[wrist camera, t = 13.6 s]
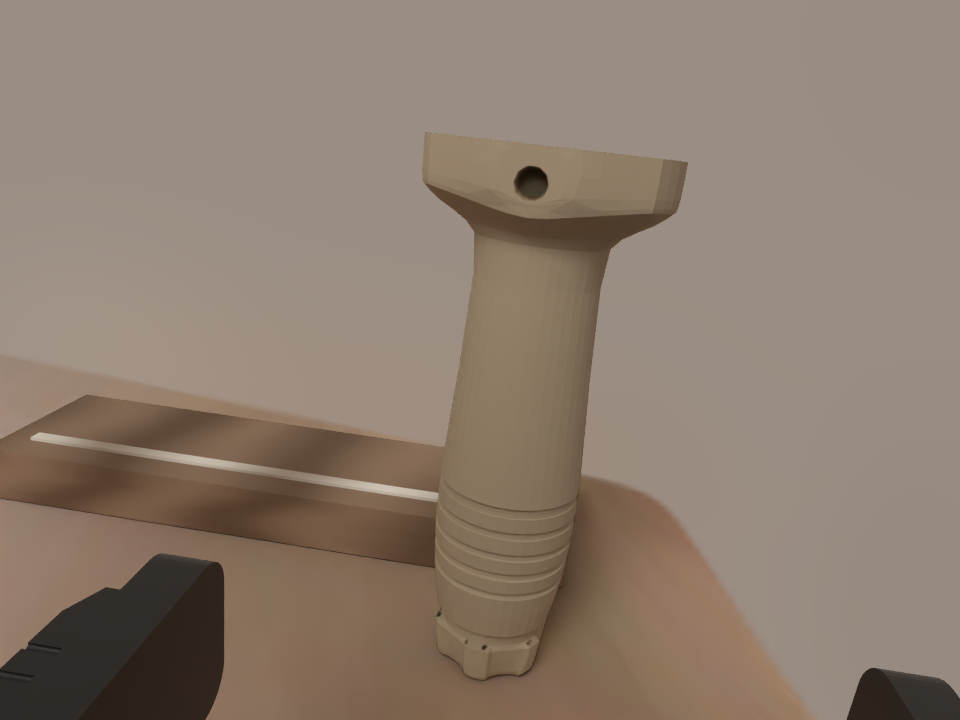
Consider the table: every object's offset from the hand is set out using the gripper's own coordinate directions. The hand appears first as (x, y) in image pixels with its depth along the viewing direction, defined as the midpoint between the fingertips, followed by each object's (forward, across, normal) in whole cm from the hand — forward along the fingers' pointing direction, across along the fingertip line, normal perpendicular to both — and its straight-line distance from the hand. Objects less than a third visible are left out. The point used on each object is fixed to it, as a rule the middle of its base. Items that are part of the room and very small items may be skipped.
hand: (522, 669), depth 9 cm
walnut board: (+18, +9, +9) cm, 22 cm away
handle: (+11, 0, +9) cm, 14 cm away
